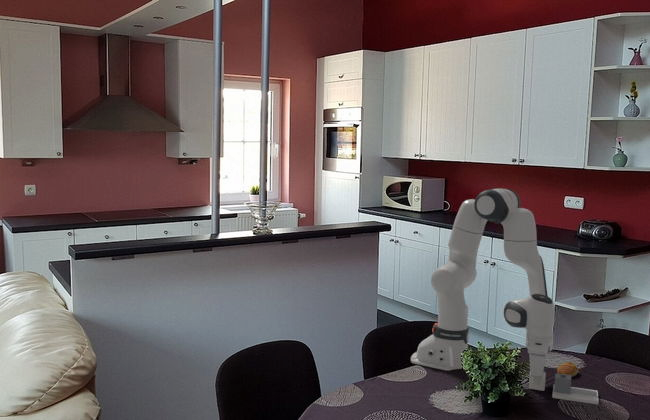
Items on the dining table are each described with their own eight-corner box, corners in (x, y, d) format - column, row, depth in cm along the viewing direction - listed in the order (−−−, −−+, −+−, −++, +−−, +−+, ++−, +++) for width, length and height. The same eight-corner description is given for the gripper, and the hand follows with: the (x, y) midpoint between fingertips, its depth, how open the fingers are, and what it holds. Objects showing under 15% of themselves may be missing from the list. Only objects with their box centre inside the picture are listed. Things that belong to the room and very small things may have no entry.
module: (528, 388, 212) (529, 372, 211) (529, 384, 216) (530, 368, 215) (544, 390, 210) (545, 374, 209) (545, 386, 214) (545, 370, 213)
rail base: (552, 397, 204) (553, 378, 204) (553, 387, 214) (554, 368, 213) (598, 404, 199) (599, 384, 199) (597, 393, 208) (598, 374, 208)
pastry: (572, 380, 221) (572, 370, 220) (552, 376, 225) (553, 366, 224) (579, 373, 228) (579, 363, 228) (560, 369, 232) (561, 359, 232)
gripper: (531, 333, 222) (529, 370, 223) (527, 349, 203) (525, 390, 204) (550, 335, 219) (548, 373, 221) (547, 352, 201) (545, 393, 202)
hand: (537, 381), depth 212 cm, fingers closed on module, 4 cm apart
